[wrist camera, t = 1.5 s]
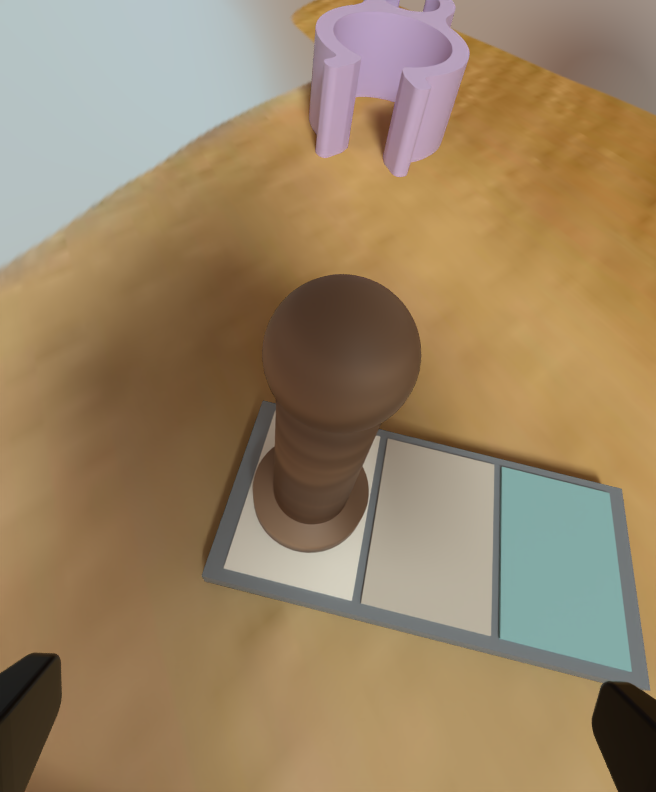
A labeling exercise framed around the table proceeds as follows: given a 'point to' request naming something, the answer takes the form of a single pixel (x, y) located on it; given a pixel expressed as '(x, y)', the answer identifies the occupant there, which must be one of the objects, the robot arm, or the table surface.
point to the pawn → (330, 404)
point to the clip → (387, 75)
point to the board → (458, 557)
